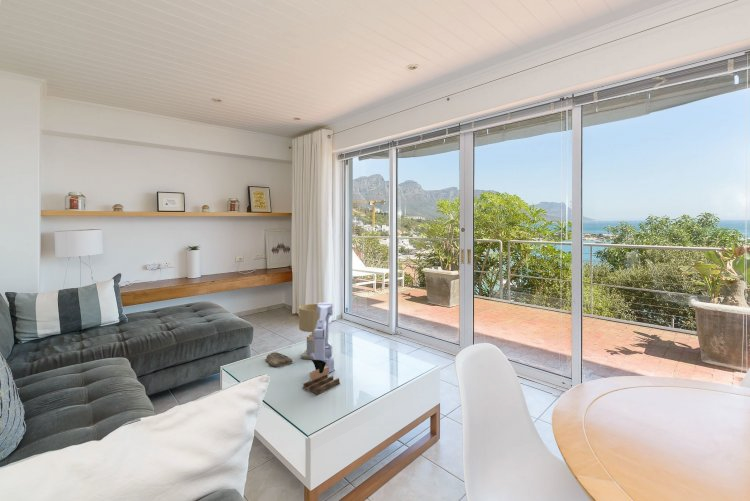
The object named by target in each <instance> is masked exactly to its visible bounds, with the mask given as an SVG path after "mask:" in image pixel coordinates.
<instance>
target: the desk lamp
mask: <svg viewBox="0 0 750 501" xmlns="http://www.w3.org/2000/svg"><path fill="white" fill-rule="evenodd" d="M317 304H318V303H308V304H303V305H300V306H299V307H298V328H299V330H300V331H301V332H304V333H305V332H306V333H311V334H309V335H308V336H306V350H304V352H302V353H301V354H300V355H299V357H301V358H302V359H303V358H305V360H313V357H310V354H312V353H314V354H315V342H314V336H313V333H314V329H316V324H317V320H318V319H319V317H320V315H319V314H318V312H317Z"/></svg>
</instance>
